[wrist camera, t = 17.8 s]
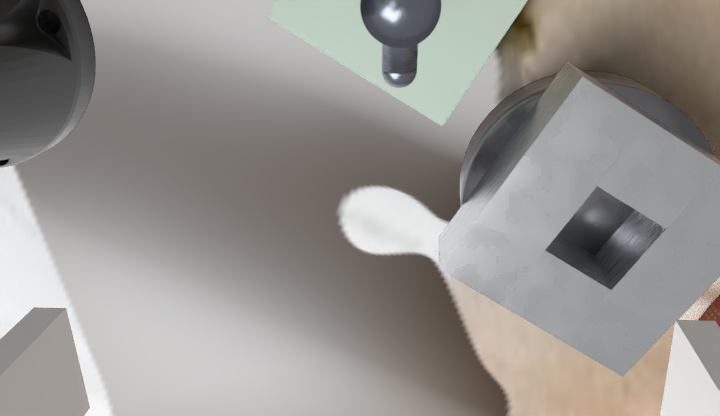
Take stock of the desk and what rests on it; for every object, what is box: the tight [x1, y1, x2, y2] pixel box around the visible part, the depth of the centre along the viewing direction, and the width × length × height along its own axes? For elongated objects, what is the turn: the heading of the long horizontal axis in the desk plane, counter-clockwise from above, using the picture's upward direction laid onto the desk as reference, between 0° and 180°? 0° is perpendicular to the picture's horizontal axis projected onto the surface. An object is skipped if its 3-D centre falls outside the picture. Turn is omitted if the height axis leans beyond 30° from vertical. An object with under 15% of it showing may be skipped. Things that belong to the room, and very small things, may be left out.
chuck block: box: [439, 62, 720, 376], centre depth 38 cm, size 14×14×8 cm
